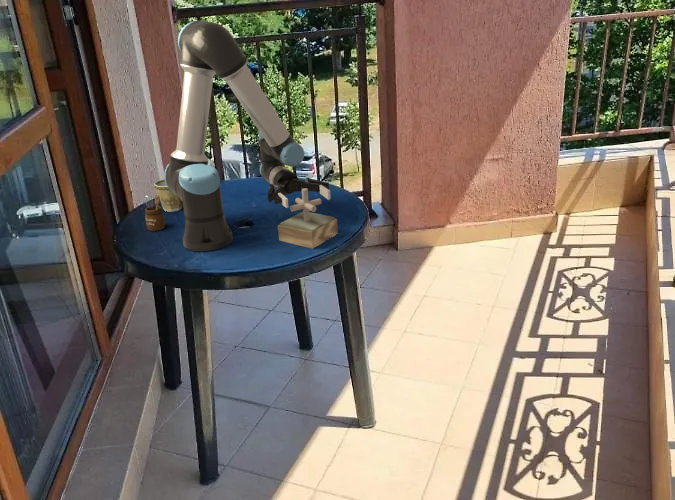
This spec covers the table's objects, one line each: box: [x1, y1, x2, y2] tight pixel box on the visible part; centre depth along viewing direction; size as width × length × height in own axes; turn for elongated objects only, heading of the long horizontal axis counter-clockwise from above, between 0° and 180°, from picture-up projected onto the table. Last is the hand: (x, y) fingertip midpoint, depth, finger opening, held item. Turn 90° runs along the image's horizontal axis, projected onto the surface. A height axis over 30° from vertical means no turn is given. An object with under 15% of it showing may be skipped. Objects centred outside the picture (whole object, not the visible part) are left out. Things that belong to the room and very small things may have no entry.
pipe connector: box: [289, 188, 322, 221], centre depth 194 cm, size 10×10×10 cm
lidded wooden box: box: [277, 211, 339, 250], centre depth 197 cm, size 13×13×6 cm
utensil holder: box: [144, 194, 166, 232], centre depth 209 cm, size 6×6×12 cm
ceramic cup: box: [153, 178, 184, 213], centre depth 226 cm, size 13×10×10 cm
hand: (308, 199), depth 191 cm, fingers open, 13 cm apart
